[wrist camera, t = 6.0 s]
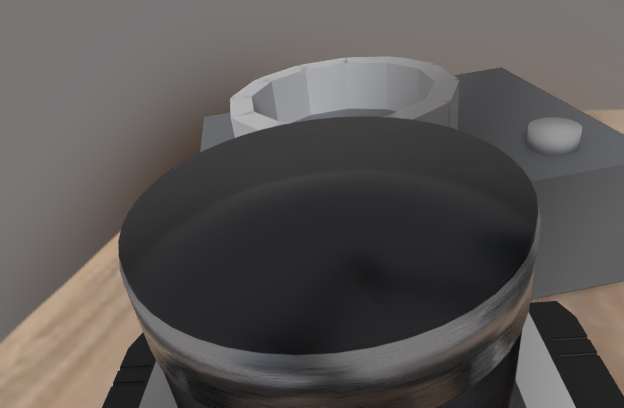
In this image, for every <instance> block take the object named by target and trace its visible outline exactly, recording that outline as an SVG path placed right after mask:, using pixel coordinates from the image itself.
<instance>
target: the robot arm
mask: <svg viewBox="0 0 624 408" xmlns="http://www.w3.org/2000/svg"><path fill="white" fill-rule="evenodd" d="M102 408H178V407H177V404H176V402H175V399H174V397H173V394H172V392H171V389H170V387H169V384H168V382H167V379H166V377H165V374H164V372H163V370H162V369H161V368H160V366H159V364H158V362H157V361H156V359H155V357H154V355H153V354H152V352H151V350H150V347H149V345H148V342H147V340H146V337H145V335H144V332H143V333H142V334H141V335H140V336H139V337H138V338H137V339H136V341H135V342H134V343H133V344H132V345H131V346H130V347H129V348H128V350H127V353H126V355H125V357H124V359H123V362H122V364H121V366H120V371H118V373H117V375H116V377H115V380H114V382H113V387H111V389H110V391H109V393H108V395H107V398H106V400H105V402H104V404H103V407H102ZM512 408H624V396H623V394H622V393H621V391H620V389H619V388H618V386H617V384H616V383H615V381H614V379H613V378H612V376H611V374H610V373H609V371H608V369H607V368H606V366H605V364H604V363H603V361H602V359H601V358H600V356H598V355H597V351H596V350H595V348H594V346H593V345H592V343H591V341H590V340H588V338H587V335H586V333H585V331H584V330H583V328H582V326H581V325H580V323H579V321H578V320H577V318H576V317H575V316H574V315H573V314H572V313H571V312H569V311H568V310H567V309H566V308H564V307H563V306H562V305H561V304H559V303H558V302H557V301H550V302H536V303H530V306H529V313H528V315H527V318H526V321H525V324H524V326H523V329H522V336H521V343H520V350H519V358H518V365H517V372H516V380H515V387H514V394H513V402H512Z"/></svg>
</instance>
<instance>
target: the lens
mask: <svg viewBox="0 0 624 408" xmlns="http://www.w3.org/2000/svg"><path fill="white" fill-rule="evenodd" d="M540 227H541V220H540V212H539V207H538V202H537V195H536V192H535V190H534V187H533V185H532V182H531V180H530V179H529V178H528V176H527V175H526V173H525V172H524V170H523V169H522V168H521V167H520V166H519V165H518V164H517V163H516V162H515V161H514V160H513V159H512V158H511V157H510V156H508V155H507V154H505V153H504V152H503V151H501V150H500V149H498V148H497V147H495V146H493V145H492V144H490V143H488V142H486V141H484V140H482V139H480V138H478V137H475V136H473V135H470V134H468V133H466V132H463V131H459V130H456V129H453V128H450V127H446V126H442V125H438V124H434V123H429V122H424V121H418V120H412V119H403V118H394V117H376V116H352V117H333V118H323V119H314V120H307V121H300V122H294V123H289V124H284V125H279V126H274V127H270V128H266V129H262V130H258V131H255V132H252V133H248V134H245V135H242V136H239V137H236V138H233V139H231V140H228V141H225V142H222V143H220V144H218V145H215V146H213V147H211V148H208V149H206V150H204V151H202V152H200V153H198V154H197V155H194V156H192V157H190V158H189V159H187V160H185V161H184V162H182V163H180V164H179V165H177V166H175V167H174V168H173V169H171V170H170V171H168V172H167V173H166V174H164V175H163V176H161V177H160V178H159V179H158V180H157V181H155V182H154V183H153V184H152V185H151V186H150V187H149V188H148V189H147V190H146V191H145V192H144V193H143V194H142V195H141V196H140V197H139V198H138V200H137V201H136V202H135V204H134V205H133V207H132V208H131V210H130V211H129V213H128V214H127V217H126V219H125V221H124V223H123V225H122V228H121V233H120V237H119V259H120V272H121V275H122V279H123V282H124V286H125V288H126V291H127V293H128V296H129V298H130V300H131V303H132V305H133V308H134V310H135V313H136V315H137V318H138V320H139V323H140V325H141V328H142V330H143V332H144V335H145V337H146V340H147V342H148V345H149V347H150V350H151V352H152V354H153V355H154V357H155V359H156V361H157V362H158V364H159V366H160V368H161V369H162V370H163V372H164V374H165V377H166V379H167V382H168V384H169V387H170V389H171V392H172V394H173V397H174V399H175V402H176V404H177V407H178V408H512V402H513V394H514V387H515V380H516V372H517V365H518V358H519V350H520V343H521V336H522V329H523V326H524V324H525V321H526V318H527V315H528V313H529V306H530V298H531V291H532V284H533V277H534V270H535V263H536V256H537V249H538V242H539V235H540Z"/></svg>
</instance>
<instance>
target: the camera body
mask: <svg viewBox="0 0 624 408" xmlns="http://www.w3.org/2000/svg"><path fill="white" fill-rule="evenodd" d="M230 109H231V113H226V114H220V115H215V116H208V117H204V125H203V134H202V142H201V151H200V152H202V151H204V150H206V149H208V148H211V147H213V146H215V145H218V144H220V143H222V142H225V141H228V140H231V139H233V138H236V137H239V136H242V135H245V134H248V133H252V132H255V131H258V130H262V129H266V128H270V127H274V126H279V125H284V124H289V123H294V122H300V121H307V120H314V119H323V118H333V117H352V116H376V117H394V118H403V119H412V120H418V121H424V122H429V123H434V124H438V125H442V126H446V127H450V128H453V129H456V130H459V131H463V132H466V133H468V134H470V135H473V136H475V137H478V138H480V139H482V140H484V141H486V142H488V143H490V144H492V145H493V146H495V147H497V148H498V149H500V150H501V151H503V152H504V153H505V154H507V155H508V156H510V157H511V158H512V159H513V160H514V161H515V162H516V163H517V164H518V165H519V166H520V167H521V168H522V169H523V170H524V172H525V173H526V175H527V176H528V178H529V179H530V180H531V182H532V185H533V187H534V190H535V192H536V195H537V202H538V207H539V212H540V220H541V227H540V235H539V242H538V249H537V256H536V263H535V270H534V277H533V284H532V291H531V298H530V299H535V298H540V297H545V296H550V295H555V294H560V293H565V292H570V291H575V290H580V289H585V288H590V287H595V286H600V285H605V284H610V283H615V282H620V281H624V134H622V133H620V132H618V131H616V130H614V129H613V128H611V127H609V126H607V125H605V124H603V123H602V122H600V121H598V120H596V119H594V118H593V117H591V116H589V115H587V114H585V113H583V112H582V111H580V110H578V109H576V108H574V107H572V106H571V105H569V104H567V103H565V102H563V101H562V100H559V99H558V98H556V97H554V96H552V95H551V94H549V93H546V92H545V91H543V90H541V89H540V88H538V87H536V86H534V85H532V84H530V83H529V82H527V81H525V80H523V79H521V78H520V77H518V76H516V75H514V74H512V73H510V72H509V71H507V70H505V69H503V68H496V69H491V70H484V71H478V72H473V73H466V74H460V75H452V74H451V73H449V72H448V71H446V70H445V69H444V68H442V67H441V66H439V65H438V64H437V65H436V64H435V63H429V62H423V61H418V60H412V59H407V58H400V57H395V58H394V57H349V58H347V59H346V58H340V59H334V60H328V61H322V62H316V63H309V64H303V65H300V67H299V66H294V67H291V68H288V69H286V70H283V71H279V72H277V73H274V74H271V75H268V76H265V77H262V78H259V79H258V80H255V81H253V82H252V83H250V84H249V85H248V86H246V87H245V88H243V89H242V90H241V91H239V92H238V93H236V94H235V95H234V96H232V97H231V99H230Z"/></svg>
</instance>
